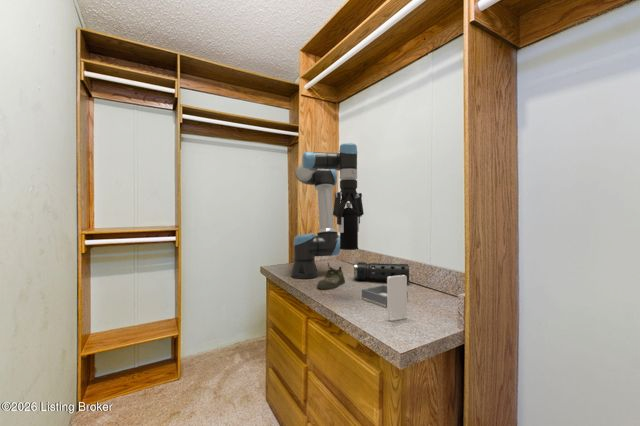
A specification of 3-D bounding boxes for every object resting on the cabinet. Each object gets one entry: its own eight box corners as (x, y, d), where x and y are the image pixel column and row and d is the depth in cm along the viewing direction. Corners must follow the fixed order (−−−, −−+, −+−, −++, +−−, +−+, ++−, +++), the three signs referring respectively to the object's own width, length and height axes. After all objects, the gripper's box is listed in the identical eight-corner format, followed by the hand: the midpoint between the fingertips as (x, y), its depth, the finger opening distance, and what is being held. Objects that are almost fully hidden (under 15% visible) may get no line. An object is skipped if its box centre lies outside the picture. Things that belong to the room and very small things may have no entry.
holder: (361, 299, 121) (361, 289, 121) (383, 293, 129) (383, 284, 129) (385, 307, 110) (385, 297, 110) (407, 301, 118) (407, 291, 118)
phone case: (404, 316, 100) (404, 274, 100) (407, 318, 99) (406, 275, 99) (387, 319, 98) (386, 276, 98) (389, 321, 96) (389, 277, 96)
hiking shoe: (314, 290, 135) (313, 265, 135) (336, 282, 152) (335, 259, 152) (328, 293, 131) (328, 267, 131) (349, 284, 147) (349, 261, 147)
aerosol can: (353, 250, 117) (353, 202, 117) (336, 249, 122) (335, 202, 121) (361, 248, 124) (361, 202, 124) (344, 247, 129) (344, 203, 128)
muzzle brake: (409, 285, 143) (409, 265, 143) (353, 283, 148) (353, 263, 148) (407, 281, 152) (407, 262, 152) (355, 279, 158) (355, 260, 158)
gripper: (334, 177, 114) (335, 233, 114) (372, 180, 126) (372, 231, 126) (323, 179, 120) (324, 232, 120) (360, 181, 132) (360, 230, 132)
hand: (348, 231), depth 123 cm, fingers closed on aerosol can, 8 cm apart
